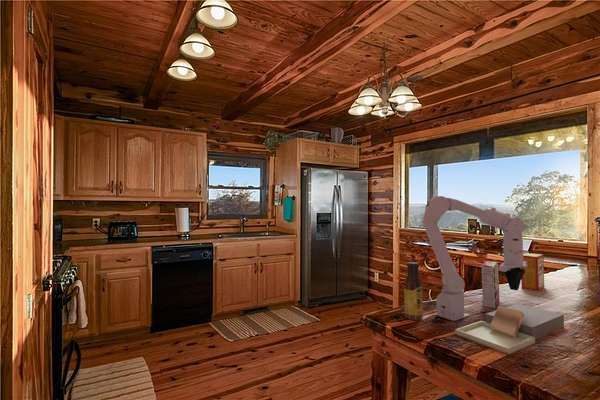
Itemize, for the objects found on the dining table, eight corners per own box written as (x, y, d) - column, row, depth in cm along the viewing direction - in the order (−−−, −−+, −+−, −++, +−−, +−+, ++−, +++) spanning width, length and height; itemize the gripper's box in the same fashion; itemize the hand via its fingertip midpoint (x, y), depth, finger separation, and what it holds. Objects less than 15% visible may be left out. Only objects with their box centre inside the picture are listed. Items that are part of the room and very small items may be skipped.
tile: (515, 338, 97) (512, 334, 97) (492, 330, 103) (489, 327, 103) (524, 315, 100) (521, 311, 99) (501, 308, 106) (498, 305, 105)
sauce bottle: (421, 322, 113) (419, 265, 113) (402, 319, 116) (401, 263, 116) (424, 316, 118) (423, 262, 118) (407, 313, 121) (406, 260, 122)
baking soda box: (528, 284, 159) (527, 252, 159) (544, 287, 154) (543, 253, 154) (521, 288, 153) (520, 254, 153) (538, 291, 148) (537, 256, 148)
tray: (509, 354, 88) (508, 348, 88) (455, 334, 102) (455, 329, 102) (535, 342, 95) (534, 337, 95) (481, 325, 109) (481, 320, 109)
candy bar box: (485, 299, 137) (484, 260, 137) (499, 301, 134) (498, 261, 134) (481, 306, 128) (480, 265, 128) (496, 309, 125) (495, 266, 125)
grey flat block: (532, 340, 96) (532, 327, 96) (486, 325, 108) (485, 313, 108) (563, 326, 106) (563, 314, 106) (517, 314, 118) (517, 303, 118)
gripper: (514, 254, 107) (515, 295, 107) (536, 250, 114) (537, 289, 114) (492, 251, 113) (493, 290, 113) (514, 248, 120) (515, 284, 120)
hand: (514, 289), depth 114 cm, fingers closed
